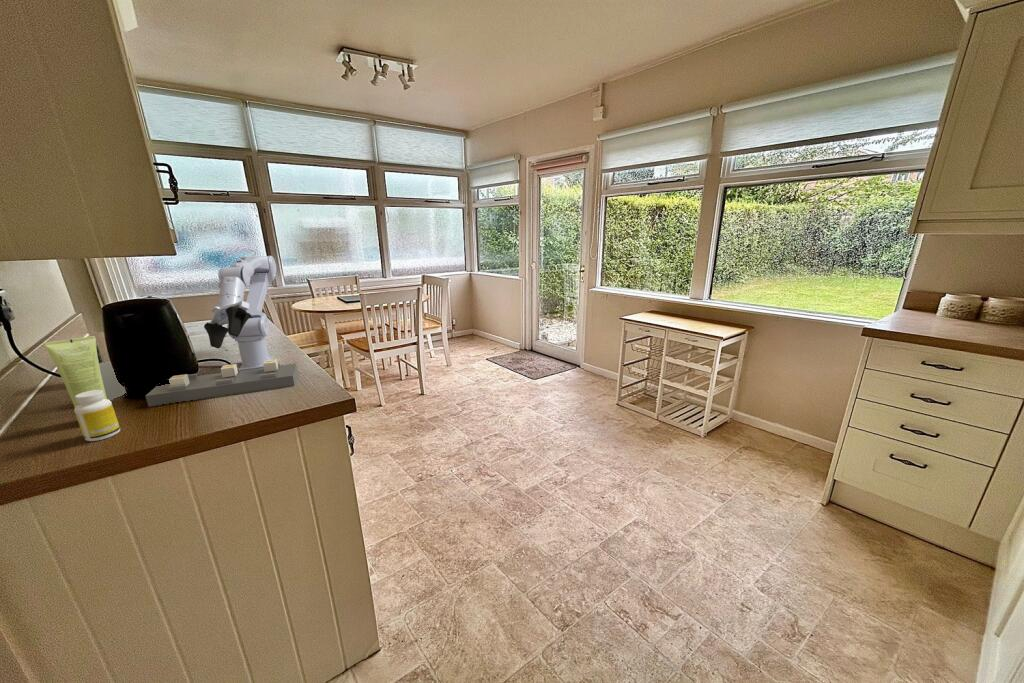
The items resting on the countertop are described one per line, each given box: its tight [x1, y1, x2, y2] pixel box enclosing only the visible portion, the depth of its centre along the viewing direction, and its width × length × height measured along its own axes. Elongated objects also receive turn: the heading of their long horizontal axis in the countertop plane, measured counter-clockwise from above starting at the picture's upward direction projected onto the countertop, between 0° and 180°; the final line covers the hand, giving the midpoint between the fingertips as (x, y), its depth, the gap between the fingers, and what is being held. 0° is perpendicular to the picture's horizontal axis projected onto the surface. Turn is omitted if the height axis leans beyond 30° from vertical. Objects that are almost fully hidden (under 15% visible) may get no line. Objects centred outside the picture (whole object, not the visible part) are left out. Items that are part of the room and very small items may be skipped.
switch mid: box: [220, 363, 238, 377], centre depth 106 cm, size 3×3×3 cm
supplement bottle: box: [73, 390, 121, 442], centre depth 80 cm, size 5×5×10 cm
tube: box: [43, 335, 107, 408], centre depth 86 cm, size 6×5×20 cm
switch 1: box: [168, 373, 190, 387], centre depth 99 cm, size 3×3×3 cm
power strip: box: [145, 363, 299, 408], centre depth 105 cm, size 11×32×4 cm, turn 114°
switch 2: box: [263, 358, 279, 372], centre depth 110 cm, size 3×3×3 cm
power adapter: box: [99, 353, 127, 401], centre depth 98 cm, size 3×5×12 cm, turn 177°
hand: (224, 341), depth 102 cm, fingers open, 7 cm apart
